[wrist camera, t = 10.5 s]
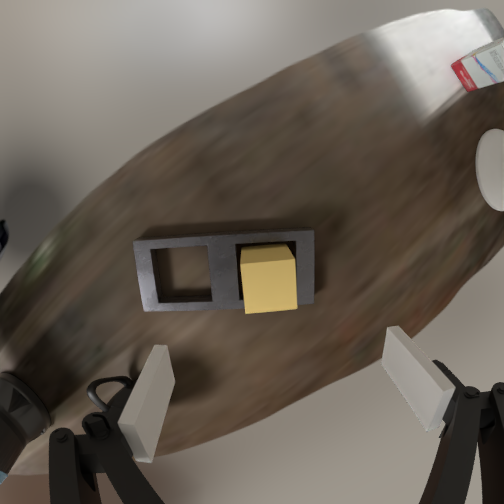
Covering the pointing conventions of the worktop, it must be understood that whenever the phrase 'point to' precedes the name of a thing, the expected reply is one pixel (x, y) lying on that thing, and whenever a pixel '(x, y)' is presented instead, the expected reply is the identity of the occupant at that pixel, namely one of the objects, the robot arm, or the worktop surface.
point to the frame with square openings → (220, 267)
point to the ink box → (481, 66)
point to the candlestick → (491, 167)
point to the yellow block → (268, 278)
